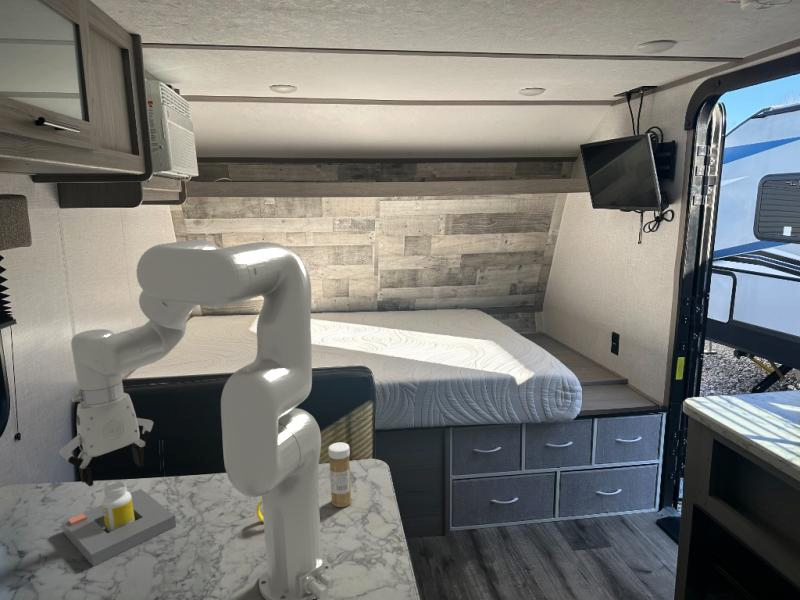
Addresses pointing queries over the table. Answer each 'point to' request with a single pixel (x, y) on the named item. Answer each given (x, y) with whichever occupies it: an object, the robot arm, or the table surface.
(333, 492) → the sprinkles bottle
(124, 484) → the supplement bottle
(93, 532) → the block with square hole
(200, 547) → the table surface
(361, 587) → the table surface
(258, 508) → the watch
